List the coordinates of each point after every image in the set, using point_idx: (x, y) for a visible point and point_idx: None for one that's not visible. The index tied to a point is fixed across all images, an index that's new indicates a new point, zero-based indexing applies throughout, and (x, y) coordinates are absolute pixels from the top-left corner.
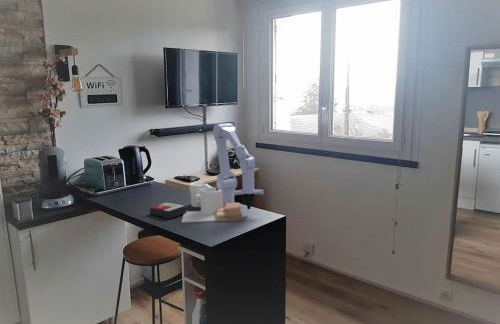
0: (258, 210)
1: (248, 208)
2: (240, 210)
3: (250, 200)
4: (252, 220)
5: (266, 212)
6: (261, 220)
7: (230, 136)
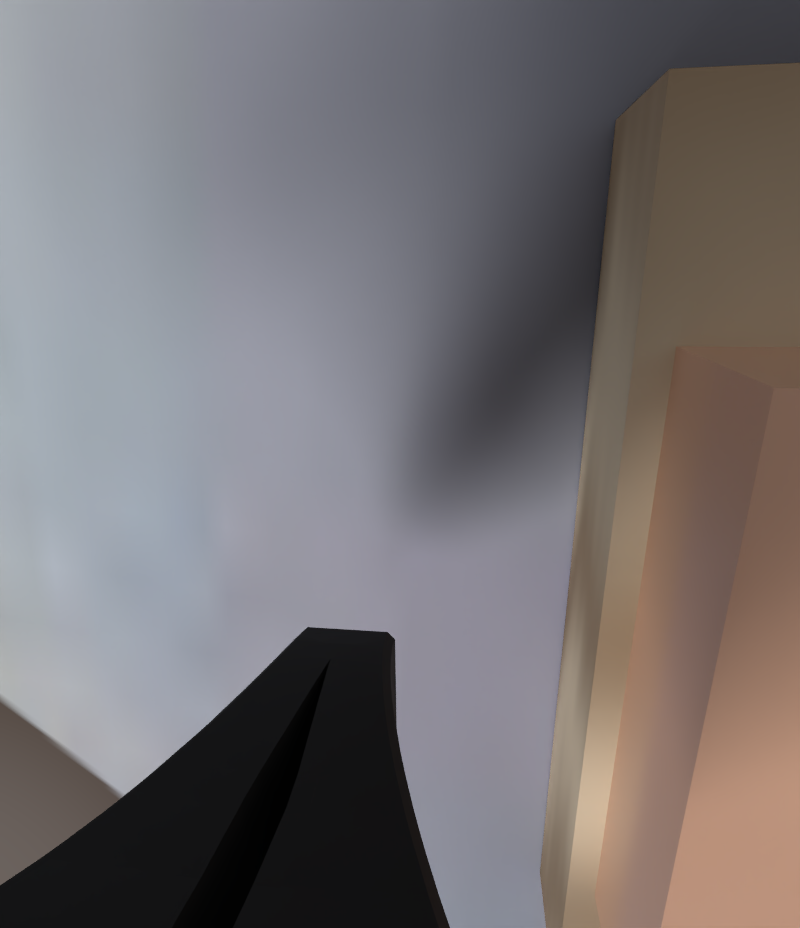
0: None
1: (355, 640)
2: (733, 370)
3: (81, 926)
4: (300, 85)
5: (7, 666)
6: (43, 61)
7: None
